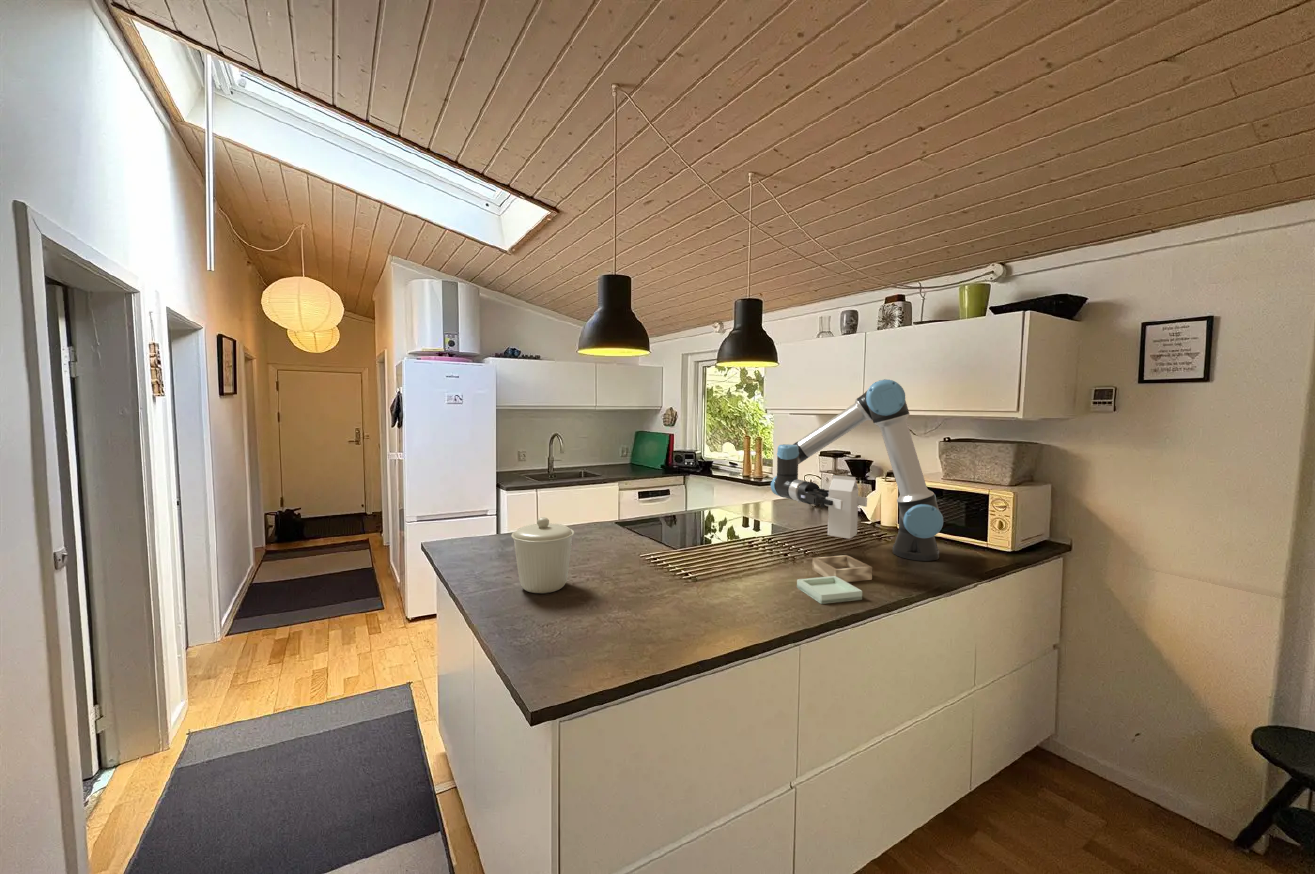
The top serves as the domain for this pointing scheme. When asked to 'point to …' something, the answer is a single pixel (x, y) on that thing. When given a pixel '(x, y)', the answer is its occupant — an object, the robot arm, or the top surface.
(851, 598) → the tray
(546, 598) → the top surface
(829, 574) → the holder
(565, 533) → the canister
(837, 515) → the milk carton
